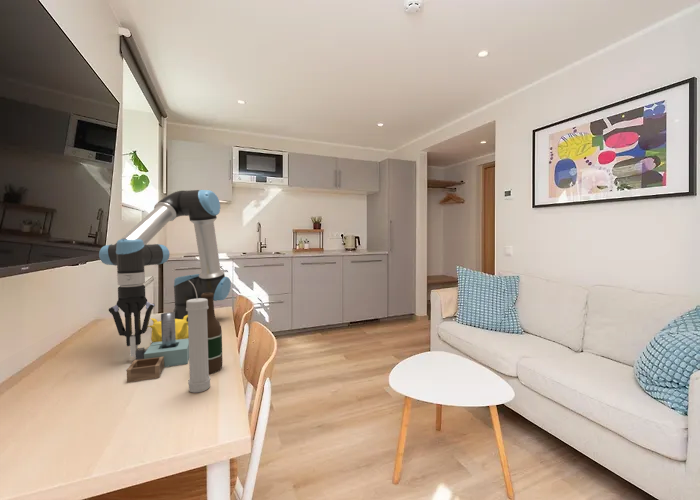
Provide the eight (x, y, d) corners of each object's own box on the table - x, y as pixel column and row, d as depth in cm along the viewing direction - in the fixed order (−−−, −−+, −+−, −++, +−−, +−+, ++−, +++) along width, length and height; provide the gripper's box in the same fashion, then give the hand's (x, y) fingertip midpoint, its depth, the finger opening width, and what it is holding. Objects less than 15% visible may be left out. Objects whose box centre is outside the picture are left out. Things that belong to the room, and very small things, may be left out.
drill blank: (163, 359, 107) (162, 312, 107) (177, 357, 109) (175, 311, 108) (161, 363, 103) (159, 315, 103) (175, 361, 105) (173, 314, 104)
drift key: (138, 358, 108) (137, 348, 108) (171, 354, 111) (170, 344, 111) (135, 361, 105) (135, 350, 105) (169, 356, 109) (169, 346, 109)
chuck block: (152, 356, 110) (152, 342, 110) (191, 351, 114) (190, 338, 114) (144, 369, 99) (143, 354, 98) (187, 363, 103) (186, 348, 103)
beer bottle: (197, 377, 93) (195, 296, 92) (193, 368, 99) (191, 292, 98) (225, 371, 97) (223, 293, 96) (220, 362, 103) (218, 290, 103)
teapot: (151, 339, 130) (150, 315, 129) (189, 334, 136) (189, 311, 136) (147, 350, 117) (147, 324, 116) (190, 343, 123) (189, 319, 123)
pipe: (214, 384, 88) (211, 277, 87) (202, 395, 82) (198, 280, 81) (196, 383, 89) (192, 277, 88) (181, 394, 82) (178, 280, 81)
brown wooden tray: (134, 371, 97) (134, 360, 97) (164, 367, 100) (163, 356, 100) (126, 382, 90) (126, 370, 90) (159, 377, 93) (158, 365, 92)
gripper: (103, 288, 99) (106, 361, 100) (151, 285, 104) (154, 355, 105) (111, 284, 106) (114, 353, 107) (156, 282, 111) (158, 348, 112)
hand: (134, 354), depth 106 cm, fingers closed
